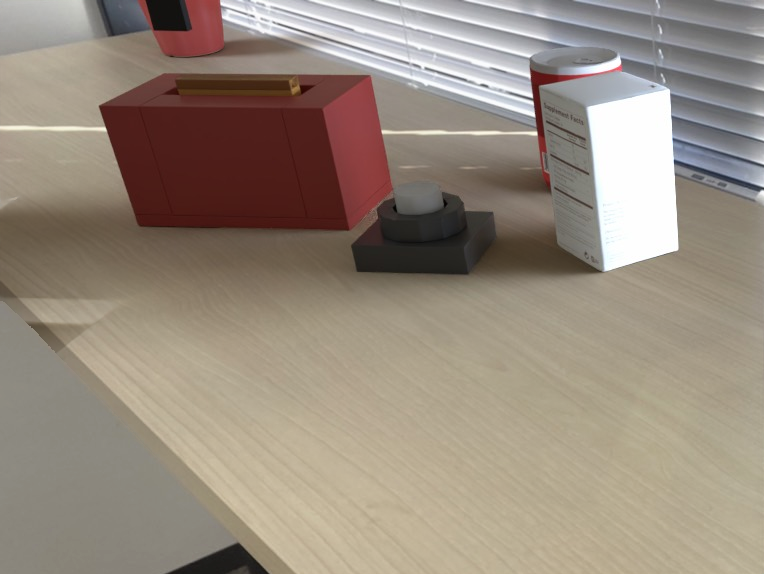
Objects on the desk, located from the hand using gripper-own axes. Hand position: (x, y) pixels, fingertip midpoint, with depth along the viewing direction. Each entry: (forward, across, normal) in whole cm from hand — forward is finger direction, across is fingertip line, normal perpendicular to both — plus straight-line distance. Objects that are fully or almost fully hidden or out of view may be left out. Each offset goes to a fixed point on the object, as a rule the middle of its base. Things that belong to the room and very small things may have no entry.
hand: (214, 12), depth 93 cm
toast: (+15, 0, -1) cm, 15 cm away
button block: (+16, -10, -19) cm, 26 cm away
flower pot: (+17, +58, +36) cm, 71 cm away
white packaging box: (+16, -8, -34) cm, 38 cm away
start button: (+12, -10, -19) cm, 24 cm away
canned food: (+16, +8, -28) cm, 33 cm away
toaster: (+16, 0, -1) cm, 16 cm away
